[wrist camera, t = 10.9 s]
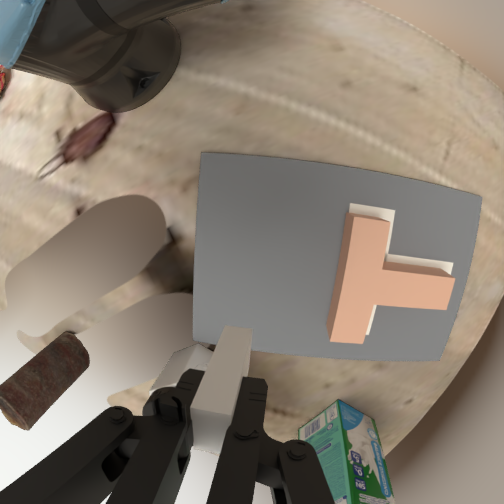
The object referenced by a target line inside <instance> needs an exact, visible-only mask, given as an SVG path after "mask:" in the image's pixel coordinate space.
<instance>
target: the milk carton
mask: <svg viewBox="0 0 504 504" xmlns="http://www.w3.org/2000/svg"><path fill="white" fill-rule="evenodd" d="M298 440H303V441H306V442H308V443H309V444H311V445H312V446H313V448H314V449H315V451H316V454H317V456H318V459H319V462H320V464H321V467H322V470H323V472H324V475H325V478H326V480H327V483H328V486H329V488H330V491H331V494H332V496H333V499H334V501H335V504H395V500H394V495H393V491H392V487H391V482H390V478H389V474H388V470H387V466H386V462H385V458H384V454H383V450H382V446H381V442H380V439H379V435H378V431H377V428H376V424H375V421H374V420H373V419H371V418H370V417H368V416H366V415H364V414H363V413H361V412H359V411H357V410H356V409H354V408H352V407H350V406H349V405H347V404H345V403H344V402H342V401H340V400H339V399H338V400H337V401H336V402H335V403H333V404H332V405H331V406H329V407H328V408H327V409H326V410H324V411H323V412H322V413H320V414H319V415H318V416H316V417H315V418H314V419H312V420H311V421H310V422H308V423H307V424H306V425H304V426H303V427H301V428H300V429H298Z"/></svg>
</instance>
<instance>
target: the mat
mask: <svg viewBox="0 0 504 504" xmlns="http://www.w3.org/2000/svg"><path fill="white" fill-rule="evenodd" d="M481 204H482V197H481V196H477V195H474V194H470V193H467V192H463V191H459V190H456V189H452V188H448V187H444V186H440V185H436V184H432V183H428V182H424V181H419V180H415V179H410V178H406V177H401V176H396V175H391V174H386V173H381V172H375V171H370V170H364V169H358V168H352V167H346V166H340V165H333V164H326V163H319V162H311V161H303V160H294V159H285V158H276V157H265V156H253V155H240V154H224V153H202V152H201V162H200V174H199V187H198V201H197V217H196V235H195V257H194V288H193V341H198V342H203V343H209V344H215V345H217V343H218V341H219V338H220V336H221V334H222V331H223V329H224V327H225V325H227V326H235V327H242V328H250V329H253V330H252V340H251V350H254V351H262V352H270V353H278V354H287V355H297V356H307V357H319V358H332V359H349V360H371V361H440V358H441V356H442V354H443V351H444V349H445V346H446V343H447V341H448V338H449V335H450V333H451V330H452V327H453V324H454V321H455V318H456V315H457V312H458V309H459V306H460V303H461V299H462V296H463V293H464V289H465V285H466V282H467V278H468V274H469V270H470V266H471V261H472V257H473V252H474V247H475V242H476V237H477V231H478V225H479V219H480V212H481ZM346 212H348V213H355V214H361V215H368V216H374V217H380V218H382V219H384V220H387V221H389V222H391V223H390V229H389V235H388V241H387V246H386V251H385V257H384V261H387V262H395V263H403V264H410V265H418V266H426V267H433V268H441V269H442V270H444V271H445V272H447V273H448V274H450V275H451V276H453V277H454V278H455V282H454V286H453V289H452V293H451V296H450V300H449V303H448V306H447V310H437V309H422V308H408V307H396V306H384V305H374V306H373V310H372V313H371V317H370V321H369V325H368V328H367V332H366V335H365V339H364V342H363V344H355V343H341V342H330V340H329V336H328V331H327V327H326V323H327V319H328V314H329V310H330V305H331V300H332V295H333V290H334V285H335V279H336V274H337V268H338V263H339V257H340V251H341V245H342V238H343V232H344V225H345V218H346Z"/></svg>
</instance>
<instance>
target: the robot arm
mask: <svg viewBox="0 0 504 504" xmlns="http://www.w3.org/2000/svg"><path fill="white" fill-rule="evenodd" d="M227 1H229V0H0V65H3V66H4V68H7V69H9V68H12V69H16V70H20V71H24V72H28V73H32V74H36V75H39V76H43V77H46V78H50V79H53V80H57V81H60V82H63V83H66V84H69V85H71V86H72V87H73V88H74V89H75V90H76V91H77V92H78V93H79V94H80V95H81V96H82V98H83V99H84V100H85V101H86V102H87V103H88V104H89V105H91V106H93V107H95V108H97V109H100V110H104V111H107V112H113V113H118V112H125V111H129V110H132V109H135V108H137V107H139V106H141V105H143V104H144V103H146V102H147V101H149V100H150V99H152V98H153V97H154V96H155V95H156V94H157V93H158V92H159V91H160V90H161V89H162V88H163V87H164V86H165V85H166V83H167V82H168V81H169V79H170V78H171V76H172V75H173V73H174V71H175V69H176V66H177V64H178V61H179V57H180V51H181V43H180V38H179V35H178V32H177V31H176V29H175V28H174V26H173V25H172V24H171V23H170V22H169V21H168V20H167V19H166V17H169V16H172V15H175V14H178V13H182V12H185V11H188V10H192V9H195V8H199V7H203V6H207V5H211V4H215V3H221V4H222V3H226V2H227ZM252 330H253V329H250V328H242V327H235V326H227V325H225V327H224V329H223V331H222V334H221V336H220V338H219V341H218V343H217V345H216V348H215V350H214V353H213V355H212V357H211V360H210V362H209V364H208V367H207V369H206V371H202V370H197V369H191V368H189V369H188V370H187V371H185V372H184V373H183V374H182V375H181V377H180V379H179V382H178V383H177V385H176V387H175V388H174V390H173V392H172V394H170V393H165V394H160V395H158V396H155V397H154V398H153V399H152V400H151V402H152V407H153V413H154V415H152V416H133V414H132V412H131V411H130V410H129V409H127V408H125V407H122V406H114V407H110V408H108V409H106V410H105V411H103V412H102V413H101V414H100V415H99V416H97V417H96V418H95V419H94V420H92V421H91V422H90V423H89V424H88V425H86V426H85V427H84V428H82V429H81V430H80V431H79V432H77V433H76V434H75V435H74V436H72V437H71V438H70V439H69V440H67V441H66V442H65V443H64V444H62V445H61V446H60V447H59V448H57V449H56V450H55V451H53V452H52V453H51V454H50V455H48V456H47V457H46V458H45V459H43V460H42V461H40V462H39V463H38V464H37V465H35V466H34V467H33V468H31V469H30V470H29V471H27V472H26V473H25V474H24V475H22V476H21V477H19V478H18V479H17V480H16V481H14V482H13V483H12V484H10V485H9V486H7V487H6V488H5V489H3V490H2V491H0V504H100V503H101V502H102V501H103V500H104V499H105V498H106V497H107V496H108V495H109V494H110V493H111V492H112V493H111V495H110V497H109V499H108V500H107V502H106V504H174V503H175V500H176V497H177V495H178V492H179V489H180V486H181V483H182V481H183V478H184V475H185V472H186V469H187V466H188V464H189V461H190V456H191V455H190V450H191V447H192V445H193V447H194V449H196V450H201V451H206V452H211V453H216V454H220V456H219V460H218V463H217V467H216V471H215V474H214V478H213V481H212V485H211V489H210V492H209V496H208V499H207V503H206V504H252V500H253V494H254V488H255V481H256V482H259V483H261V484H264V485H267V486H269V487H270V489H271V494H272V499H273V504H335V501H334V499H333V496H332V494H331V491H330V488H329V486H328V483H327V480H326V478H325V475H324V472H323V470H322V467H321V464H320V462H319V459H318V456H317V454H316V451H315V449H314V448H313V446H312V445H311V444H309V443H308V442H306V441H303V440H290V441H287V442H285V443H282V442H279V441H276V440H274V439H272V438H271V437H269V436H268V435H267V434H266V433H265V431H264V428H263V422H264V414H265V406H266V398H267V390H268V386H267V384H266V382H265V380H264V379H260V378H252V377H247V375H248V370H249V362H250V351H251V340H252Z"/></svg>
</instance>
